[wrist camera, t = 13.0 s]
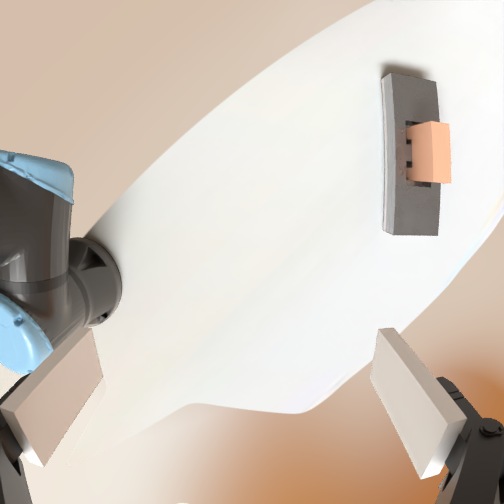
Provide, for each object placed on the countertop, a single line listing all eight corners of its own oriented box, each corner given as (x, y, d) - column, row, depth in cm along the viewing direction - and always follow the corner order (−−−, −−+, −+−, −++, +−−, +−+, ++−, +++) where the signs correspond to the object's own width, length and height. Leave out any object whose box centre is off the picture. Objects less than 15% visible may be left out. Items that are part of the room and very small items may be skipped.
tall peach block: (403, 180, 44) (433, 182, 36) (402, 128, 43) (431, 120, 34) (420, 181, 44) (451, 183, 36) (418, 130, 43) (448, 123, 34)
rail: (383, 230, 47) (393, 235, 43) (381, 79, 42) (390, 72, 38) (425, 231, 47) (437, 235, 43) (424, 87, 42) (435, 81, 38)
